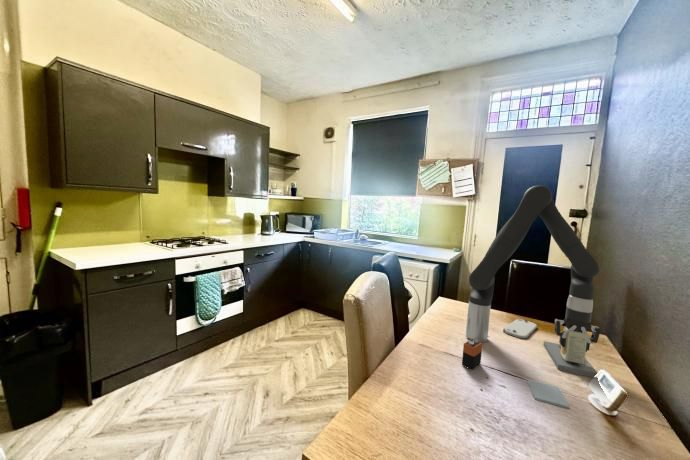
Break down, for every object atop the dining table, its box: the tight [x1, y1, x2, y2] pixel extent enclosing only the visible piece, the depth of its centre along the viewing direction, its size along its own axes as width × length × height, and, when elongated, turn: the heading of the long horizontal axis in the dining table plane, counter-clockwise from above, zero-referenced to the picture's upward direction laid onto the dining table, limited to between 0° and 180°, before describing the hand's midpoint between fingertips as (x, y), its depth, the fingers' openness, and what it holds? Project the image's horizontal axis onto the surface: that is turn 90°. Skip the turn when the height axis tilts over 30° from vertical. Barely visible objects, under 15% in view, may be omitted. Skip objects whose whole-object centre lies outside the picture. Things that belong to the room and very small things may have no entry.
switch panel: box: [542, 340, 598, 378], centre depth 110 cm, size 20×12×2 cm, turn 156°
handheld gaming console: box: [502, 318, 538, 340], centre depth 137 cm, size 23×3×10 cm
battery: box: [461, 339, 483, 371], centre depth 104 cm, size 4×7×10 cm, turn 128°
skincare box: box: [561, 326, 589, 364], centre depth 105 cm, size 6×4×12 cm
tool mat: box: [527, 379, 570, 409], centre depth 89 cm, size 9×10×1 cm
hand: (573, 348), depth 105 cm, fingers closed on skincare box, 6 cm apart
